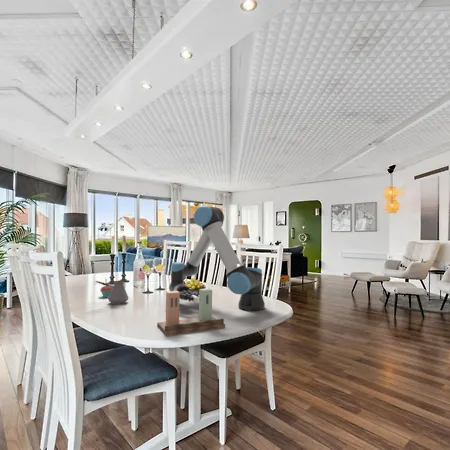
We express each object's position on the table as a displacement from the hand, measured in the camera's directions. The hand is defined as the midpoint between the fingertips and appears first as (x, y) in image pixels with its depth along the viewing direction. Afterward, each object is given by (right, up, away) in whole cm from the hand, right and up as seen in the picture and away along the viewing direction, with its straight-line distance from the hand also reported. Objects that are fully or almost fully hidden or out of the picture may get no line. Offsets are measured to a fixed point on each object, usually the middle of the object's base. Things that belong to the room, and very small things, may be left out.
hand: (197, 300), depth 152 cm
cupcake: (-64, -10, +48) cm, 80 cm away
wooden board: (-1, -8, -16) cm, 18 cm away
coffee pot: (-53, -9, +25) cm, 59 cm away
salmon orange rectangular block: (-10, -6, -17) cm, 20 cm away
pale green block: (+5, -7, -10) cm, 13 cm away
